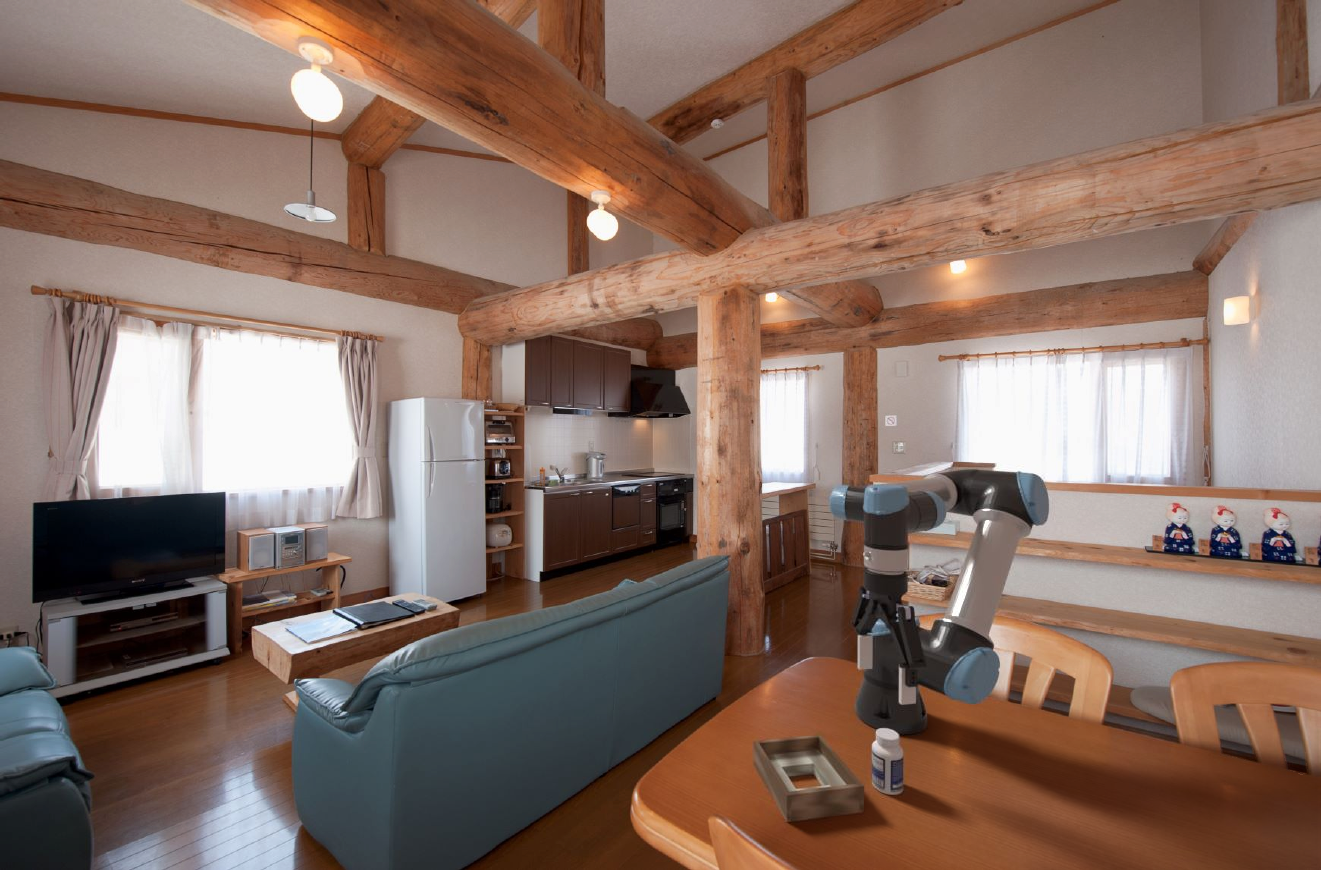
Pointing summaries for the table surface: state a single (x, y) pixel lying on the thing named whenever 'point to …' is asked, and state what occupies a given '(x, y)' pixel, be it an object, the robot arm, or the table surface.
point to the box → (805, 758)
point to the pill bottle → (887, 762)
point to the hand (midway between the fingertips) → (884, 684)
